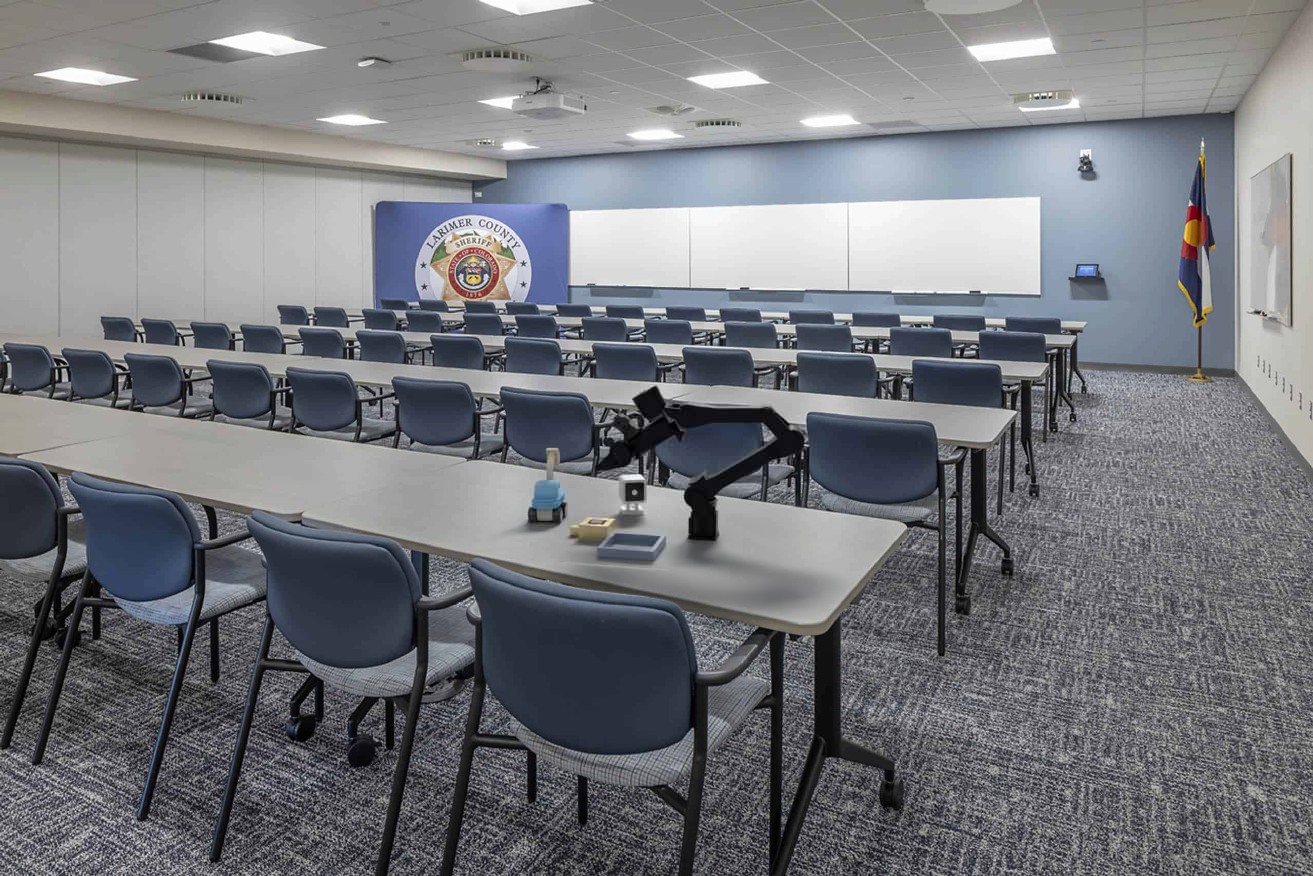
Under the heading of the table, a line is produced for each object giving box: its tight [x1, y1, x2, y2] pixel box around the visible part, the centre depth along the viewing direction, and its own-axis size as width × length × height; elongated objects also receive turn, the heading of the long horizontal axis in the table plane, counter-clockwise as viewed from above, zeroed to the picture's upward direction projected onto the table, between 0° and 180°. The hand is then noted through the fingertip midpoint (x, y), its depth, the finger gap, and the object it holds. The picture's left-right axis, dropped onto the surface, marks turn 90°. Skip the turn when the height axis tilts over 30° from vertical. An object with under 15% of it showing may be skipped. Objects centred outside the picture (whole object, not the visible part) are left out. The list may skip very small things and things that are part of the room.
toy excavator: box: [527, 447, 568, 524], centre depth 241 cm, size 9×17×17 cm, turn 174°
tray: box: [596, 531, 667, 562], centre depth 213 cm, size 13×13×2 cm
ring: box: [569, 516, 616, 541], centre depth 224 cm, size 10×7×4 cm
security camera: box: [618, 473, 648, 516], centre depth 245 cm, size 6×7×10 cm
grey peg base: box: [573, 519, 605, 543], centre depth 224 cm, size 9×9×4 cm
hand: (599, 467), depth 226 cm, fingers open, 9 cm apart
